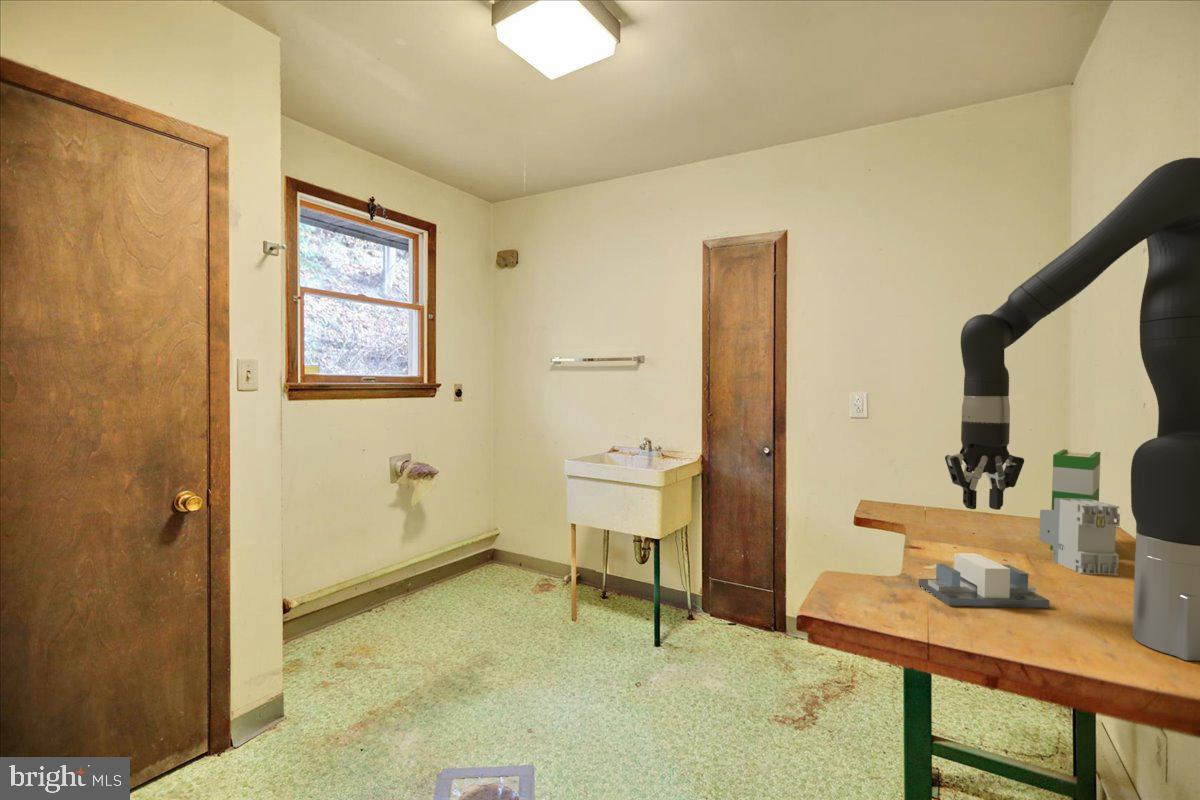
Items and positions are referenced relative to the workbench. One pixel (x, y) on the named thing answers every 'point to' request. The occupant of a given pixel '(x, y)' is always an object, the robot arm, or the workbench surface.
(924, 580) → the rail mount
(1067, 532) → the circuit breaker
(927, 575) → the workbench surface
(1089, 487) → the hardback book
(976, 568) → the block
